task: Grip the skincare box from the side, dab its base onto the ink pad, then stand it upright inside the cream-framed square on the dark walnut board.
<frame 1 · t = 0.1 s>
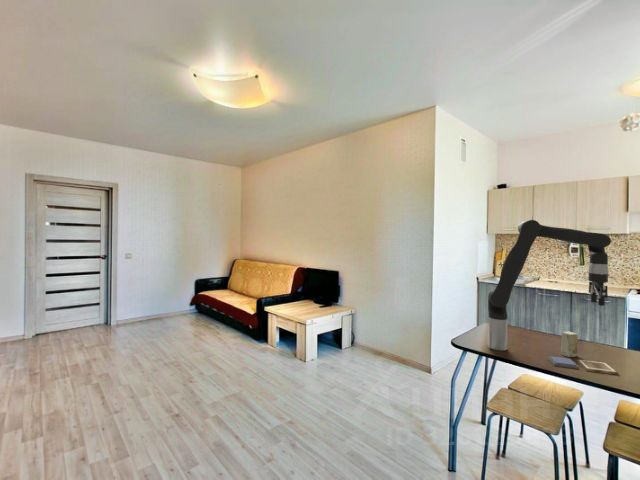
hand: (597, 303, 160), 29 cm above the table, tool pointing down, fingers open, 8 cm apart
marked board: (596, 367, 151), on the table
skincare box: (569, 355, 166), on the table
ink pad: (562, 363, 156), on the table
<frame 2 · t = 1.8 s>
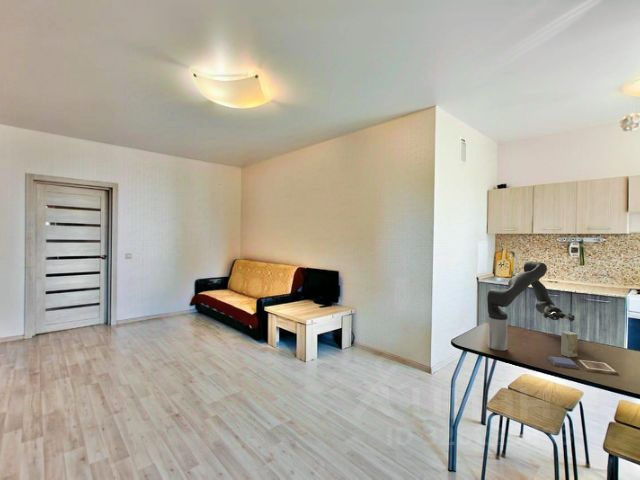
hand: (562, 319, 176), 17 cm above the table, tool horizontal, fingers open, 8 cm apart
nothing on the table moved.
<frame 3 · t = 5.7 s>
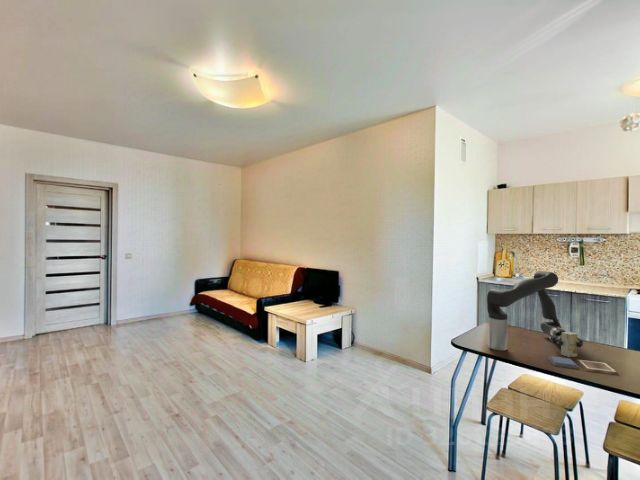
hand: (570, 344, 164), 7 cm above the table, tool horizontal, fingers closed on skincare box, 7 cm apart
skincare box: (569, 355, 166), on the table, touching gripper
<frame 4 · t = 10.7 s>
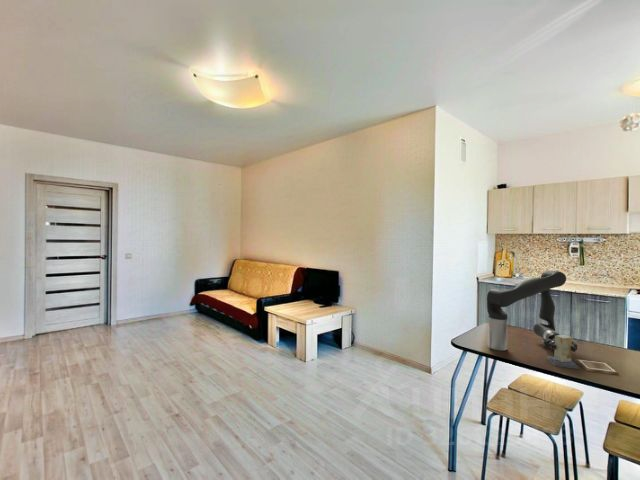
hand: (564, 348, 154), 8 cm above the table, tool horizontal, fingers closed on skincare box, 7 cm apart
skincare box: (562, 360, 156), point 1 cm above the table, touching gripper, ink pad
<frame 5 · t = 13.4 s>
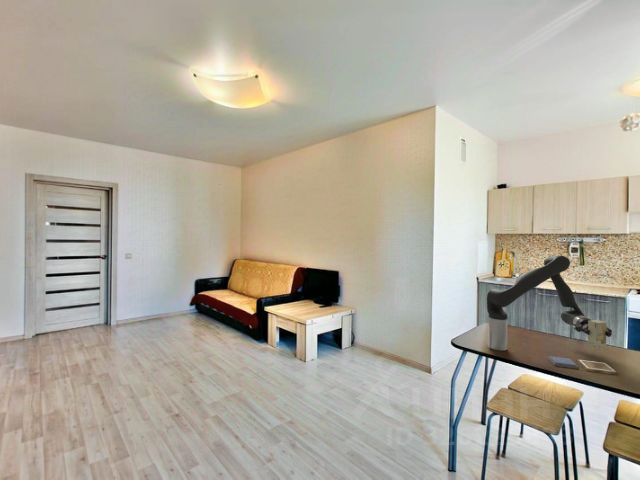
hand: (599, 333, 149), 17 cm above the table, tool horizontal, fingers closed on skincare box, 7 cm apart
skincare box: (596, 346, 151), point 10 cm above the table, touching gripper
when the fingers open (8 cm above the table, at t = 15.6 s): skincare box stays where it is, resting on marked board.
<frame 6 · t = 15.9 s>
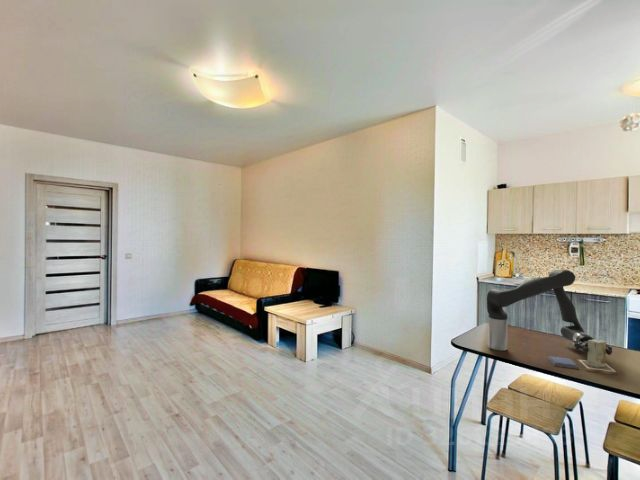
hand: (598, 351, 149), 9 cm above the table, tool horizontal, fingers open, 8 cm apart
skincare box: (596, 366, 151), point 1 cm above the table, touching marked board
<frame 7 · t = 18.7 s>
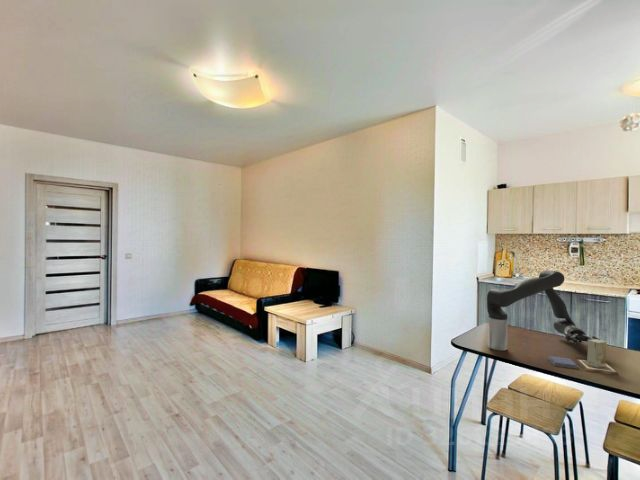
hand: (587, 343, 161), 9 cm above the table, tool horizontal, fingers open, 8 cm apart
nothing on the table moved.
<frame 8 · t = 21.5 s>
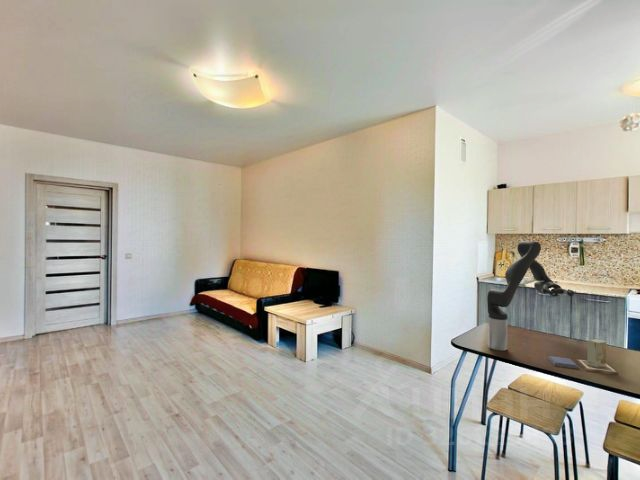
hand: (561, 293, 172), 32 cm above the table, tool horizontal, fingers open, 8 cm apart
nothing on the table moved.
at the end: skincare box 0.2 cm off-centre on the marked board, point 0.8 cm above the marked board's base; skincare box tilted 0°; the gripper is holding nothing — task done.
